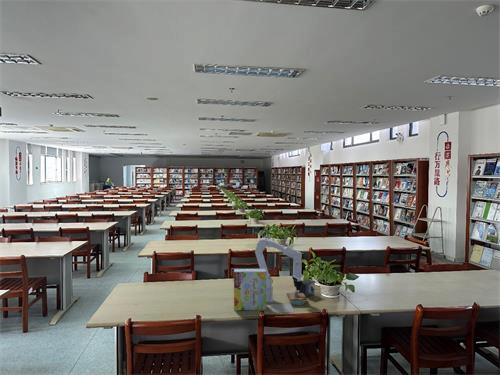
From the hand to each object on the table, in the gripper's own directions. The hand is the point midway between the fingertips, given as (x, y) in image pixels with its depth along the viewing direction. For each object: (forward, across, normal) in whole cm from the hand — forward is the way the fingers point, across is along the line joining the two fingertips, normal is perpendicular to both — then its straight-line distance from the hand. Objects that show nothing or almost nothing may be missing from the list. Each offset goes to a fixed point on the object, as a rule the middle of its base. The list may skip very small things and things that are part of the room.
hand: (297, 288), depth 242 cm
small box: (+10, +15, -10) cm, 21 cm away
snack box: (+10, -9, +33) cm, 36 cm away
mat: (+10, -10, +12) cm, 19 cm away
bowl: (+10, 0, 0) cm, 10 cm away
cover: (+6, 0, 0) cm, 6 cm away
